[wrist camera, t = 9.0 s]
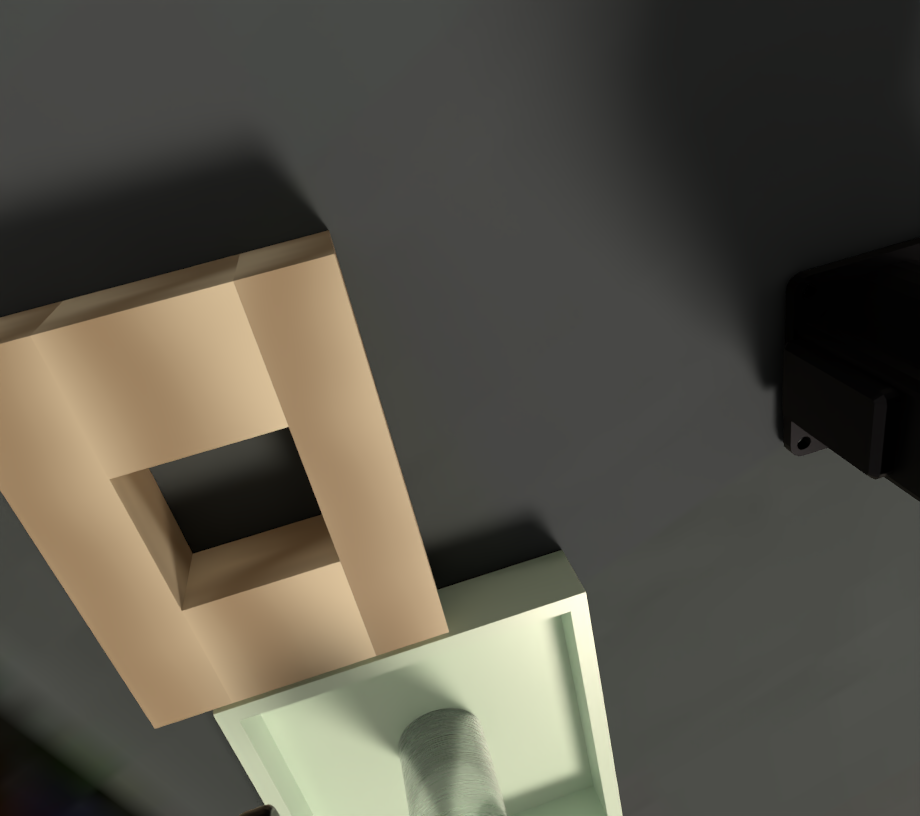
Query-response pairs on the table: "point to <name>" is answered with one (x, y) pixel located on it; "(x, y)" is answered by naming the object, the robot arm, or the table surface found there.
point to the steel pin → (449, 766)
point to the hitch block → (201, 429)
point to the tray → (448, 686)
